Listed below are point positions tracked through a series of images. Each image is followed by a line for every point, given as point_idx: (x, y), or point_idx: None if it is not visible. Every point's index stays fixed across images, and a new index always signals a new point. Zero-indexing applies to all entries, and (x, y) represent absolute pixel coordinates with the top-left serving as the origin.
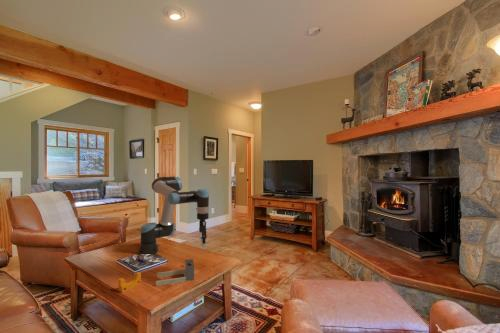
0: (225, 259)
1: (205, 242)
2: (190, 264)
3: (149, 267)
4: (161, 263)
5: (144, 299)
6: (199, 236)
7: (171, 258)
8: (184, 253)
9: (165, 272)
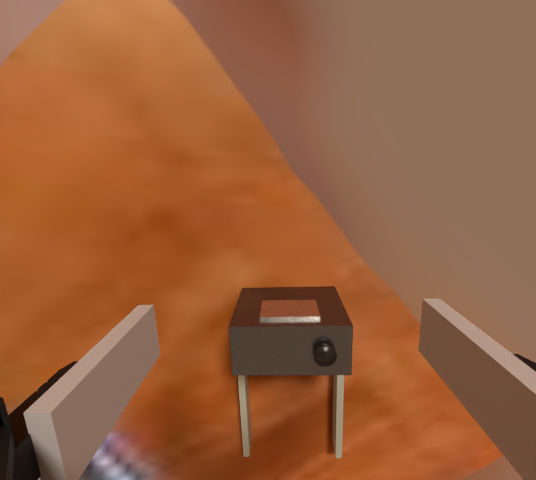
0: (78, 58)
1: (497, 353)
2: (334, 348)
3: (130, 472)
4: None
5: (439, 469)
6: (118, 415)
7: (23, 386)
8: None
9: (247, 423)
